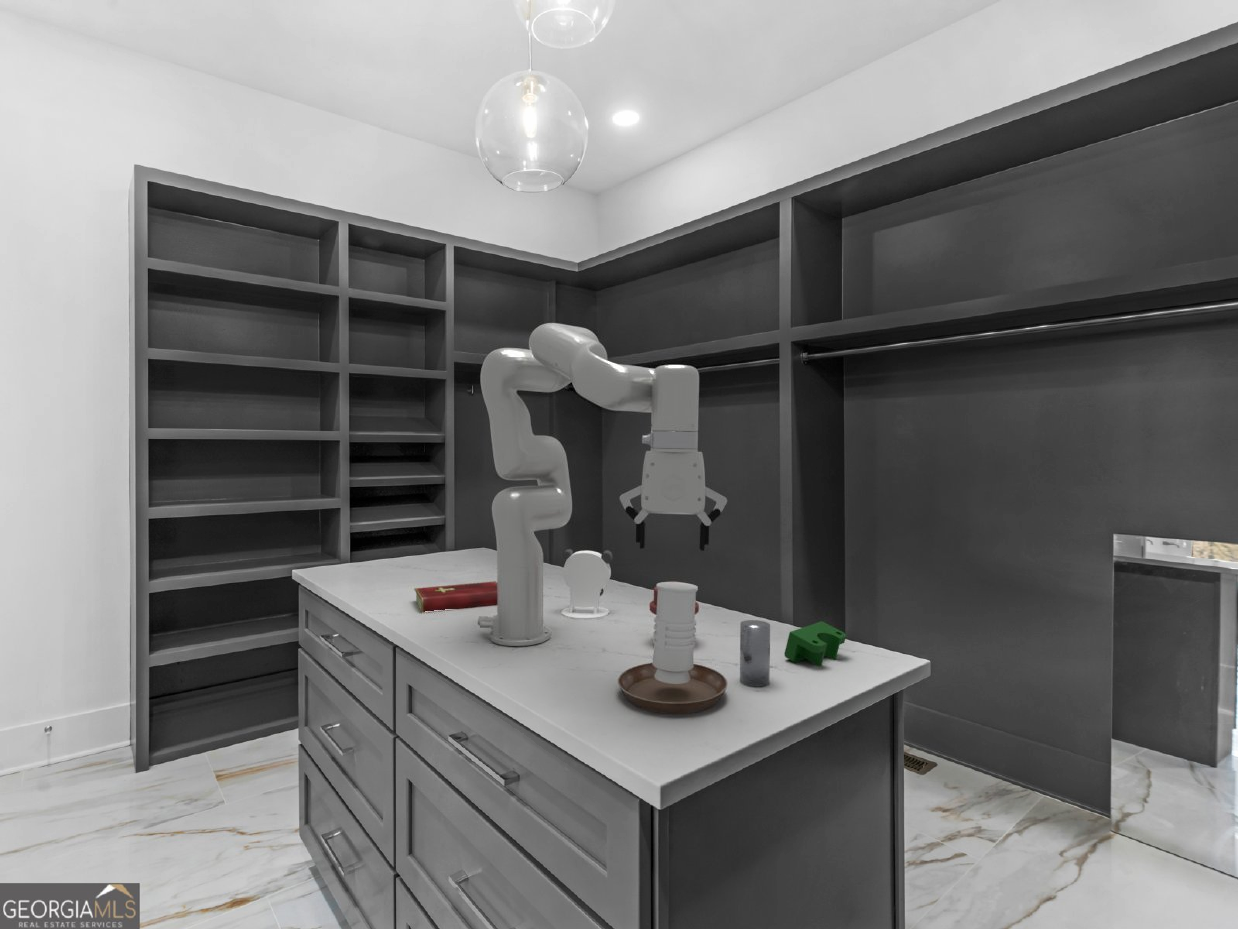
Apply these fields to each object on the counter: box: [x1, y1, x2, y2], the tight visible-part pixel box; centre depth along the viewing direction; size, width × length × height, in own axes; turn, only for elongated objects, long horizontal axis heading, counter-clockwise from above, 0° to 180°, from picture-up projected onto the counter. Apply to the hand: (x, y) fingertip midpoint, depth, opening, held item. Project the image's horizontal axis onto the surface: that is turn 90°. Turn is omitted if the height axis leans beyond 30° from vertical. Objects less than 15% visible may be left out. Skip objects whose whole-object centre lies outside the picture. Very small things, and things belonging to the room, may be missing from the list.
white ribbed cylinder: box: [651, 581, 699, 684], centre depth 106 cm, size 7×7×15 cm
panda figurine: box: [561, 548, 614, 620], centre depth 155 cm, size 12×11×15 cm
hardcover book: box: [413, 580, 497, 613], centre depth 164 cm, size 12×21×4 cm, turn 115°
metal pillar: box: [739, 619, 771, 688], centre depth 111 cm, size 5×5×10 cm
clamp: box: [784, 620, 847, 667], centre depth 123 cm, size 12×6×9 cm, turn 125°
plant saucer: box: [617, 662, 728, 715], centre depth 105 cm, size 18×18×3 cm
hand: (672, 548), depth 105 cm, fingers open, 9 cm apart
